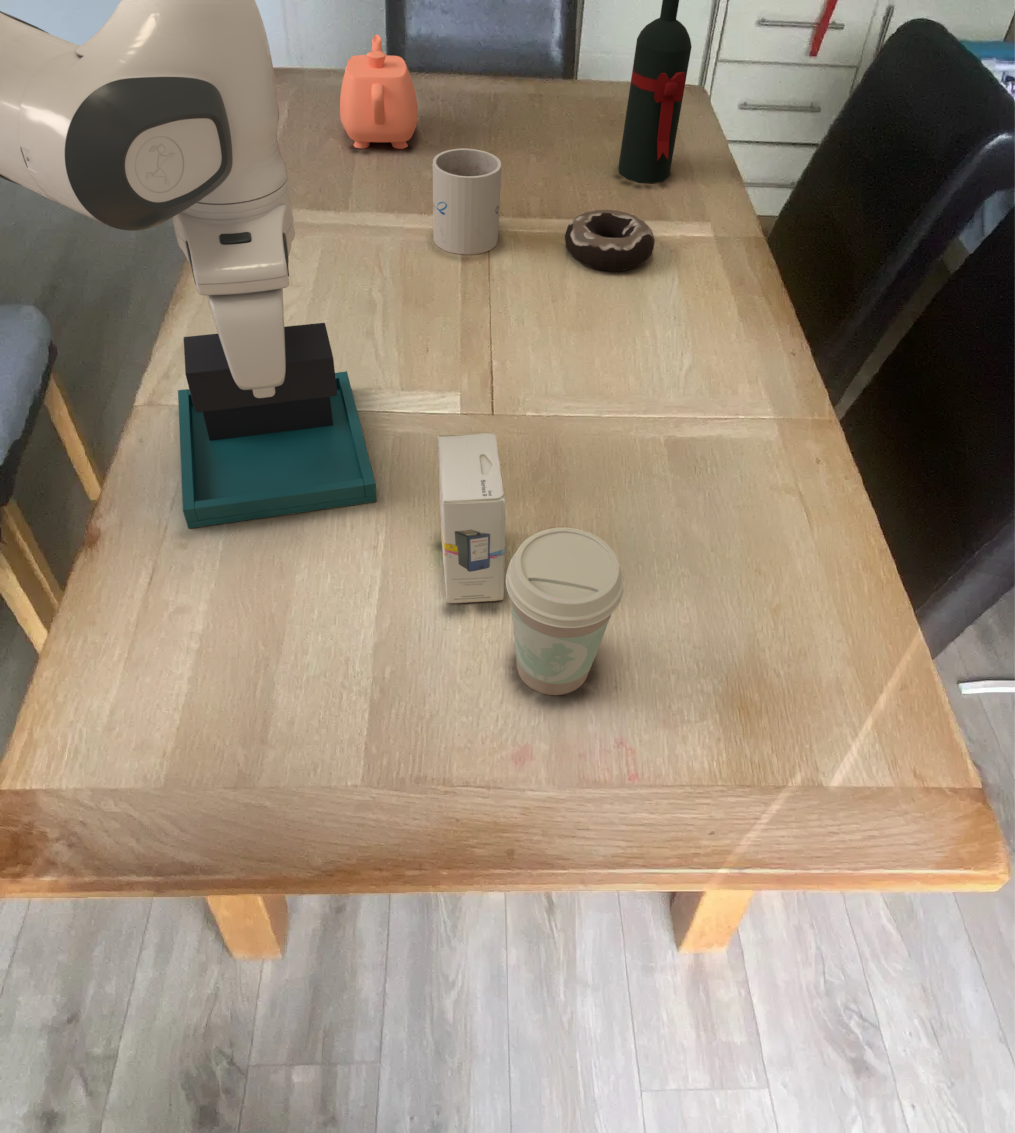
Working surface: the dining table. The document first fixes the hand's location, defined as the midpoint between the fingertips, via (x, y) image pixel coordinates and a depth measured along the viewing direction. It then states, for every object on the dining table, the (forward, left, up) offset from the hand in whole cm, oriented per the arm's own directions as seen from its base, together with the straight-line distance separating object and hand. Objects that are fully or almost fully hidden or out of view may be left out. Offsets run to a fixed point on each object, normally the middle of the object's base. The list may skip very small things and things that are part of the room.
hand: (261, 369), depth 78 cm
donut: (+46, +35, -12) cm, 59 cm away
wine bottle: (+60, +57, -12) cm, 84 cm away
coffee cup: (+19, -28, -12) cm, 36 cm away
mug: (+29, +44, -12) cm, 54 cm away
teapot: (+23, +77, -12) cm, 81 cm away
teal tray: (0, +3, -12) cm, 12 cm away
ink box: (+15, -16, -12) cm, 25 cm away
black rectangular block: (0, +8, -11) cm, 13 cm away
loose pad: (0, 0, -2) cm, 2 cm away
